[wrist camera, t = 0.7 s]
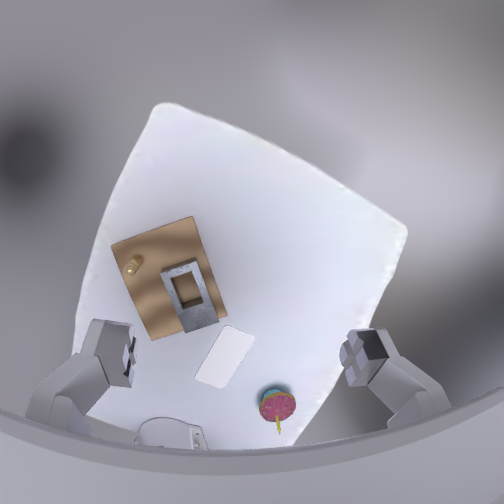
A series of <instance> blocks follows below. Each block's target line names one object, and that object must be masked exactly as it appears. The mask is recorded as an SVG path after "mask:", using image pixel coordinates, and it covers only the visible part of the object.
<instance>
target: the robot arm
mask: <svg viewBox="0 0 504 504" xmlns="http://www.w3.org/2000/svg"><path fill="white" fill-rule="evenodd" d="M133 335H134V326H133V324H130V323H122V322H115V321H108V320H100V319H93V320H92V321H91V323H90V326H89V328H88V331H87V334H86V337H85V340H84V343H83V346H82V349H81V352H80V353H75V354H74V355H73V356H72V357H71V358H69V359H68V360H67V361H66V362H64V363H63V364H62V365H61V366H60V367H58V368H57V369H56V370H55V371H53V372H52V373H51V374H50V375H49V376H47V377H46V378H45V379H44V380H43V381H42V382H40V383H39V384H38V385H37V386H36V387H35V388H34V390H33V393H32V396H31V399H30V402H29V405H28V408H27V412H26V415H25V418H24V417H21V416H19V415H16V414H13V413H11V412H8V411H5V410H3V409H1V408H0V504H504V387H498V388H495V389H493V390H491V391H489V392H487V393H485V394H483V395H481V396H479V397H476V398H474V399H472V400H469V401H467V402H465V403H462V404H460V405H457V406H455V407H451V404H450V402H449V400H448V398H447V396H446V394H445V392H444V390H443V389H442V386H441V385H440V384H439V383H437V382H436V381H435V380H434V379H432V378H431V377H429V376H428V375H427V374H426V373H424V372H423V371H421V370H420V369H419V368H418V367H416V366H415V365H413V364H412V363H411V362H410V361H408V360H407V359H405V358H404V357H400V356H399V354H398V352H397V350H396V348H395V346H394V344H393V342H392V340H391V338H390V336H389V334H388V332H387V331H386V329H384V328H373V329H372V328H369V329H354V330H351V331H349V333H348V335H347V338H348V340H347V341H345V342H344V343H343V344H342V346H341V348H340V355H339V356H340V361H341V364H342V366H343V367H345V368H346V369H347V370H346V373H345V375H346V378H347V381H348V384H349V386H350V387H356V386H364V385H368V387H369V388H370V390H371V391H372V392H374V394H375V395H376V396H377V397H378V398H379V399H380V400H382V402H383V403H384V404H385V405H386V406H387V407H388V408H390V410H391V411H392V412H393V413H394V414H395V415H394V416H393V417H392V418H390V419H389V420H388V422H387V425H388V429H384V430H380V431H376V432H372V433H367V434H363V435H358V436H354V437H349V438H344V439H338V440H332V441H327V442H320V443H313V444H306V445H297V446H288V447H277V448H264V449H243V450H208V448H207V445H206V442H205V439H204V436H203V432H202V429H201V428H200V427H199V426H194V425H188V424H185V423H183V422H181V421H178V420H175V419H170V418H156V419H152V420H149V421H147V422H145V423H144V424H142V426H141V427H140V429H139V435H138V437H137V438H136V439H135V441H134V442H135V444H132V443H125V442H119V441H113V440H108V439H102V438H97V437H92V433H93V430H92V428H91V427H90V426H89V424H88V423H87V422H86V420H85V419H84V417H83V416H85V414H86V413H87V412H88V411H89V410H90V409H91V407H92V406H93V405H94V404H95V403H96V402H97V401H98V399H99V398H100V397H101V396H102V395H103V394H104V393H105V391H106V390H107V389H108V388H109V387H110V386H109V385H112V386H120V387H129V388H132V382H133V376H134V371H133V367H132V366H133V365H134V364H135V363H136V358H137V341H136V338H135V337H134V336H133Z"/></svg>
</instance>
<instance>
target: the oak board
mask: <svg viewBox="0 0 504 504" xmlns="http://www.w3.org/2000/svg"><path fill="white" fill-rule="evenodd" d="M111 249H112V251H113V254H114V257H115V259H116V262H117V264H118V267H119V269H120V272H121V274H122V277H123V279H124V282H125V284H126V286H127V289H128V291H129V293H130V296H131V298H132V300H133V302H134V305H135V307H136V309H137V311H138V313H139V316H140V318H141V320H142V322H143V324H144V326H145V328H146V330H147V332H148V334H149V336H150V338H151V340H152V341H153V340H156V339H159V338H162V337H166V336H169V335H172V334H175V333H178V332H181V331H184V329H183V327H182V325H181V322H180V320H179V318H178V315H177V313H176V311H175V308H174V306H173V304H172V301H171V299H170V297H169V294H168V292H167V289H166V287H165V284H164V282H163V279H162V277H161V274H160V273H161V270H162V268H165V267H168V266H171V265H173V264H176V263H179V262H182V261H185V260H188V259H191V258H193V257H196V258H197V261H198V264H199V266H200V269H201V272H202V275H203V277H204V280H205V283H206V286H207V288H208V291H209V294H210V296H211V299H212V302H213V304H214V307H215V309H216V312H217V315H218V319H220V318H223V317H226V316H227V313H226V310H225V308H224V305H223V302H222V299H221V297H220V294H219V291H218V288H217V286H216V283H215V280H214V277H213V275H212V272H211V269H210V266H209V263H208V260H207V258H206V255H205V252H204V249H203V246H202V243H201V240H200V237H199V234H198V231H197V228H196V225H195V222H194V219H193V216H190V217H188V218H185V219H182V220H179V221H176V222H173V223H170V224H168V225H165V226H162V227H159V228H156V229H154V230H151V231H148V232H146V233H143V234H140V235H137V236H135V237H132V238H129V239H127V240H124V241H122V242H119V243H116V244H114V245H112V246H111ZM136 254H139V255H141V256H142V258H143V262H142V264H141V266H140V267H139V269H138V270H137V272H136V274H135V275H134V276H127V275H126V274H125V271H124V269H125V266H126V265H127V264H128V262H129V261H130V260H131V259H132V258H133V256H134V255H136ZM173 279H174V281H175V284H176V287H177V289H178V292H179V294H180V296H181V299H182V301H183V303H184V302H187V301H190V300H193V299H196V298H199V297H202V296H201V294H200V291H199V289H198V286H197V283H196V281H195V278H194V275H193V273H192V271H189V272H186V273H183V274H181V275H178V276H175V277H173Z"/></svg>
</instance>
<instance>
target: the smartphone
mask: <svg viewBox="0 0 504 504" xmlns="http://www.w3.org/2000/svg"><path fill="white" fill-rule="evenodd" d="M254 339H255V338H254V336H253V335H250V334H248V333H245V332H243V331H241V330H239V329H236V328H234V327H232V326H229V325H226V326H224V327H223V329H222V331H221V332H220V334H219V336H218V337H217V339H216V341H215V343H214V344H213V346H212V348H211V349H210V351H209V353H208V355H207V356H206V358H205V359H204V361H203V363H202V364H201V366H200V368H199V370H198V372H197V373H196V375H195V379H196V380H197V381H200V382H203V383H205V384H208V385H211V386H214V387H217V388H220V389H222V388H224V387H225V386H226V384H227V383H228V381H229V380H230V378H231V377H232V375H233V374H234V372H235V370H236V369H237V367H238V366H239V364H240V363H241V361H242V359H243V358H244V356H245V355H246V353H247V351H248V350H249V348H250V347H251V345H252V343H253V342H254Z"/></svg>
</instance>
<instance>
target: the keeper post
mask: <svg viewBox="0 0 504 504" xmlns="http://www.w3.org/2000/svg"><path fill="white" fill-rule="evenodd" d="M142 262H143V258H142V256H141V255H139V254H136V255H134V256H133V258H132V259H131V260H130V261H129V262H128V264H127V265H126V266H125V269H124V271H125V274H126V275H127V276H134V275H135V274H136V272H137V270H138V269H139V267H140V266H141V264H142Z"/></svg>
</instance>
